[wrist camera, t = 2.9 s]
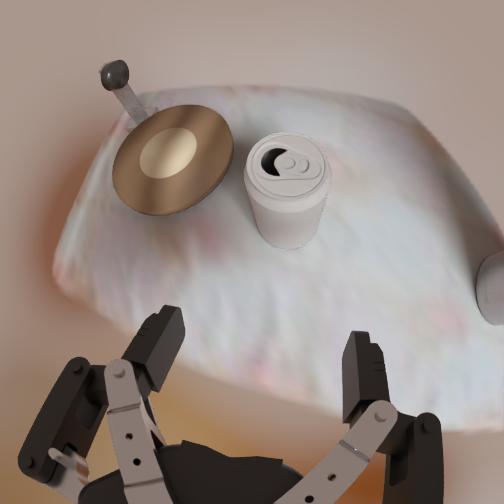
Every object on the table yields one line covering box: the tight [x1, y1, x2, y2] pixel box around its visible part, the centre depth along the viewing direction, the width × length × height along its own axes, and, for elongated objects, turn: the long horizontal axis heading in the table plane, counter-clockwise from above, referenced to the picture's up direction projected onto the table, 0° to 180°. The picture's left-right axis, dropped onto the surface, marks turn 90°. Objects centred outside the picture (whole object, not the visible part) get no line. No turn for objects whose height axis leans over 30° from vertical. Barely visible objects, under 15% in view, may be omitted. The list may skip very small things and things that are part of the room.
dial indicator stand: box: [99, 60, 158, 132], centre depth 30 cm, size 4×5×13 cm
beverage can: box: [244, 132, 332, 250], centre depth 23 cm, size 6×6×12 cm
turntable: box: [112, 105, 233, 216], centre depth 31 cm, size 16×16×1 cm
